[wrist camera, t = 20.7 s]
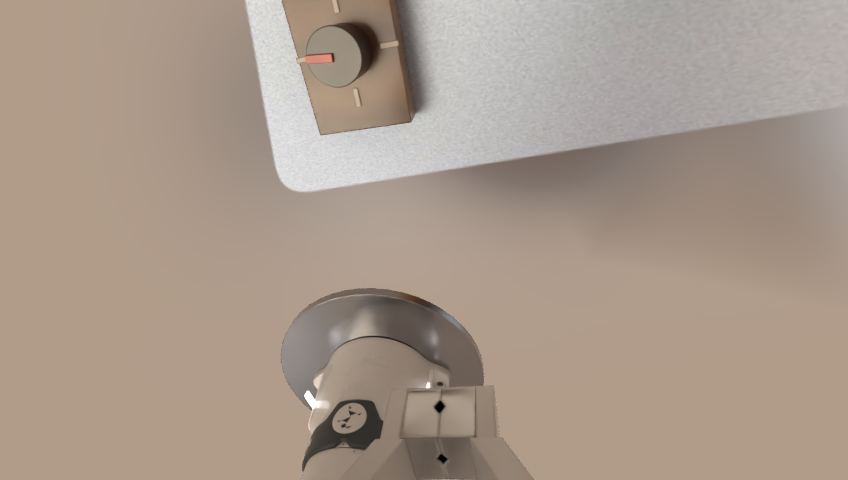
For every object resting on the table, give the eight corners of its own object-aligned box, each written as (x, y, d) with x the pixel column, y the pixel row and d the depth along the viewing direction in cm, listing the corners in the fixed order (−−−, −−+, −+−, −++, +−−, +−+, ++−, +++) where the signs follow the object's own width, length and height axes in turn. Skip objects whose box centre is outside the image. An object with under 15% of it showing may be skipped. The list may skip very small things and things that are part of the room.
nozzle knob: (368, 20, 31) (356, 23, 28) (375, 78, 33) (364, 86, 29) (316, 24, 31) (298, 27, 28) (326, 80, 33) (310, 89, 30)
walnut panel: (416, 113, 37) (412, 122, 34) (329, 126, 38) (318, 136, 35) (389, -49, 31) (381, -53, 28) (287, -27, 32) (270, -29, 30)
